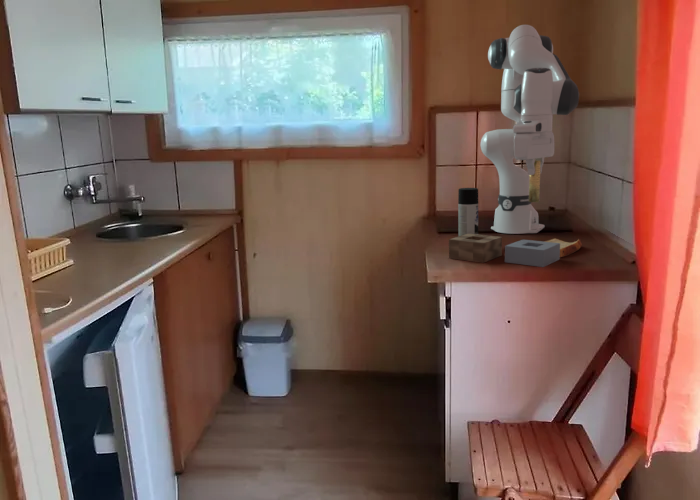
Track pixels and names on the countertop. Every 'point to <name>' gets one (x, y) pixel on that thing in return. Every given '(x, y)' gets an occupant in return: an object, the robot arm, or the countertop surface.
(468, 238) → the tan wooden mount
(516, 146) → the robot arm
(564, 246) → the slice of bread
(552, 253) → the slate socket block
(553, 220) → the countertop surface
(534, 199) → the brass pin
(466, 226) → the spray can
